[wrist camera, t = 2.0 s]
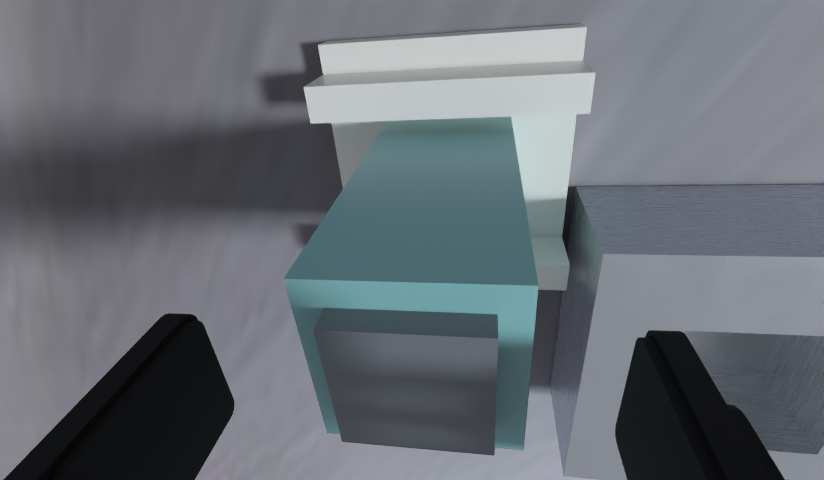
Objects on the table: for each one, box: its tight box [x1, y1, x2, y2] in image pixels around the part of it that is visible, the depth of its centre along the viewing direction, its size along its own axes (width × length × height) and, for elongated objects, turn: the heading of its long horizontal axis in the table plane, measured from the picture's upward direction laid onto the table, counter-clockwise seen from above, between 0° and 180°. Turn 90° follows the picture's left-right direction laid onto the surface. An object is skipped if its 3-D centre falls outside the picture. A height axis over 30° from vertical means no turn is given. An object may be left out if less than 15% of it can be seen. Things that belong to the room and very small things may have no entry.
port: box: [550, 184, 824, 480], centre depth 17 cm, size 12×12×6 cm
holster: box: [303, 24, 596, 290], centre depth 17 cm, size 10×9×3 cm
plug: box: [284, 117, 539, 455], centre depth 13 cm, size 4×4×11 cm
